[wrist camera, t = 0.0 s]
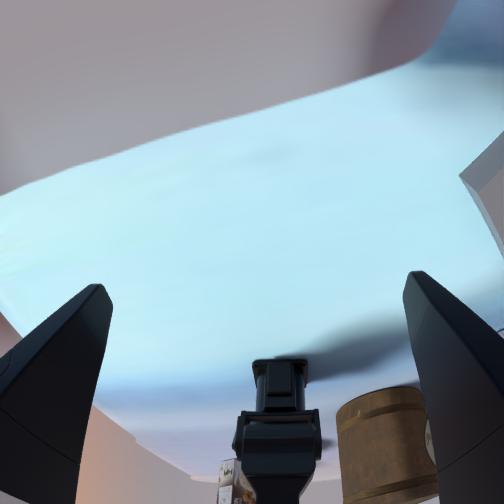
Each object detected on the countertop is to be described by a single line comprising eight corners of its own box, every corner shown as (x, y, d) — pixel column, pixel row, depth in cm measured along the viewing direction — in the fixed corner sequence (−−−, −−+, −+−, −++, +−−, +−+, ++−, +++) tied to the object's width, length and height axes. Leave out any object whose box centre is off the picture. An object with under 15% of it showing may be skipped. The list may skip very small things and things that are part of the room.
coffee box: (219, 461, 66) (213, 517, 53) (234, 458, 63) (229, 517, 50) (247, 468, 69) (243, 520, 56) (263, 465, 66) (260, 520, 53)
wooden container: (402, 420, 48) (416, 523, 30) (327, 427, 49) (332, 540, 31) (436, 380, 39) (464, 509, 21) (348, 389, 40) (360, 538, 22)
